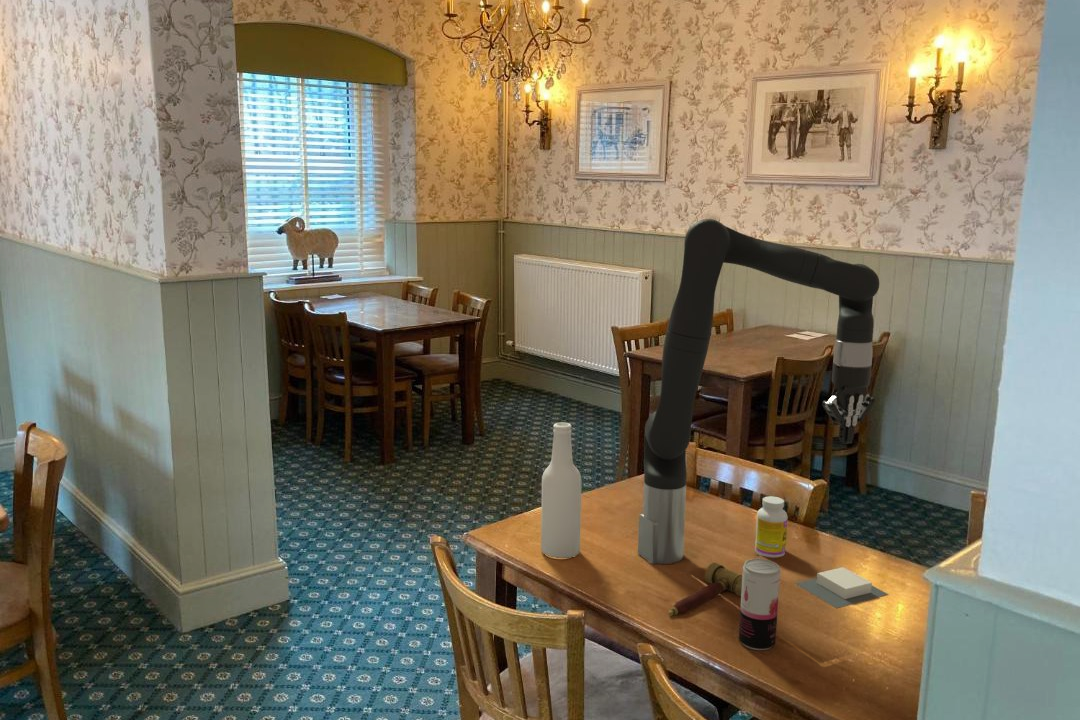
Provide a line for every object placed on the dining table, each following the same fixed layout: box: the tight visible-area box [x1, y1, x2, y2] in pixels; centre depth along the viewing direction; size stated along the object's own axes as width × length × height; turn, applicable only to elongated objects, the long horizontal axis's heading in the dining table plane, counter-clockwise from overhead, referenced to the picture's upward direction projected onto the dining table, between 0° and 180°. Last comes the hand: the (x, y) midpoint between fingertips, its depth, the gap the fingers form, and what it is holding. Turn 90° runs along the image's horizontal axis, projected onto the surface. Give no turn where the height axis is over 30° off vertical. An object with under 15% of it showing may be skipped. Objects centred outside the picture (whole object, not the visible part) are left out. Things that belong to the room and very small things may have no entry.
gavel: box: [667, 562, 743, 617], centre depth 178 cm, size 21×5×10 cm
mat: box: [794, 577, 890, 609], centre depth 183 cm, size 14×12×1 cm
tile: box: [816, 567, 873, 599], centre depth 183 cm, size 2×8×7 cm
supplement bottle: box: [754, 495, 788, 558], centre depth 199 cm, size 7×7×13 cm
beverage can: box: [738, 558, 781, 651], centre depth 161 cm, size 7×7×15 cm
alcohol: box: [540, 421, 582, 558], centre depth 197 cm, size 9×9×30 cm
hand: (845, 442), depth 186 cm, fingers closed
